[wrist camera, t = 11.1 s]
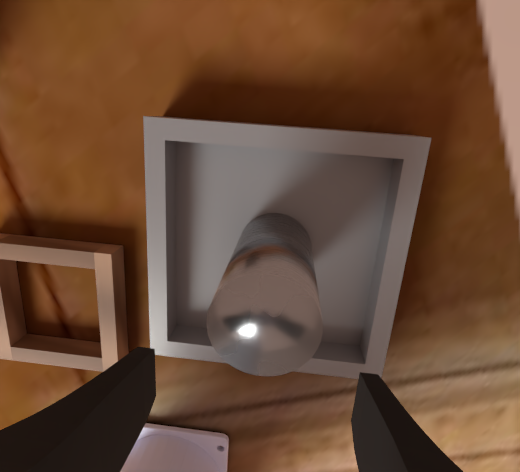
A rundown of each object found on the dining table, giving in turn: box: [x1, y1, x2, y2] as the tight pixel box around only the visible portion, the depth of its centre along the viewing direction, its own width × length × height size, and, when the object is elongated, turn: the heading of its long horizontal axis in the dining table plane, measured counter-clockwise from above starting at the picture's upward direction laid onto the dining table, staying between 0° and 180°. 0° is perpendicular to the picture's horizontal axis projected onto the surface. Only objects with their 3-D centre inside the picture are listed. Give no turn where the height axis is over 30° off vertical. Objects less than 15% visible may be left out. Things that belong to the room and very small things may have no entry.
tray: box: [143, 116, 431, 379], centre depth 20 cm, size 13×13×2 cm
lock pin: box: [206, 213, 323, 376], centre depth 16 cm, size 4×4×8 cm
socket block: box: [0, 233, 129, 372], centre depth 23 cm, size 8×8×2 cm
